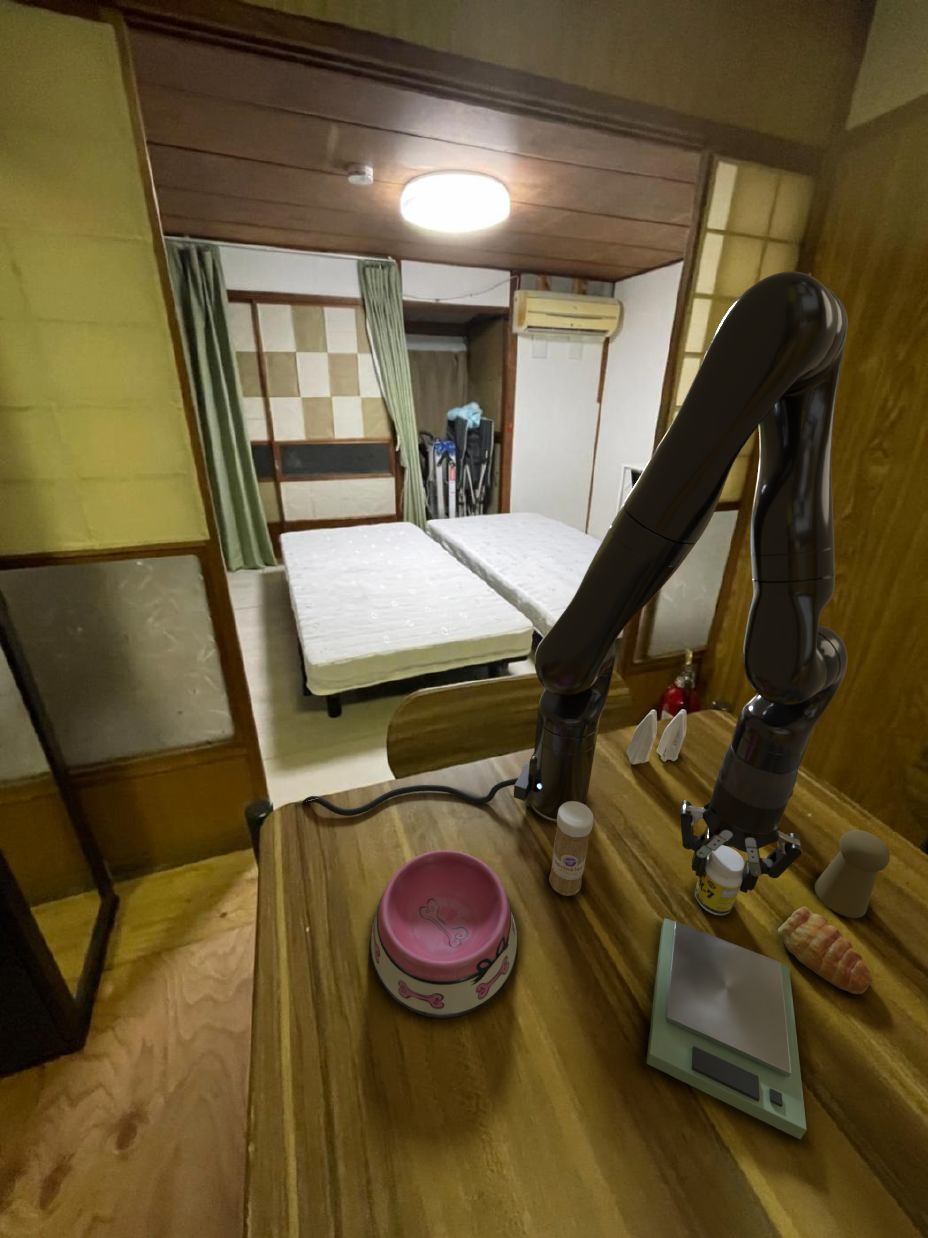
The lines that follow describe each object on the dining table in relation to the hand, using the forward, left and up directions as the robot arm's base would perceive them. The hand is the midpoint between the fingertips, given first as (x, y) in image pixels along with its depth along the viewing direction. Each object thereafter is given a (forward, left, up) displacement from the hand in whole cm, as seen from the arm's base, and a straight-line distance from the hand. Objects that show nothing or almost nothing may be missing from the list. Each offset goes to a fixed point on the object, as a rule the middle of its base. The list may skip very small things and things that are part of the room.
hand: (720, 878), depth 68 cm
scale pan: (+1, -14, -2) cm, 14 cm away
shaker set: (-11, +26, -5) cm, 29 cm away
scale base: (+1, -15, -4) cm, 16 cm away
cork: (+16, +8, -5) cm, 18 cm away
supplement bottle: (0, 0, -5) cm, 5 cm away
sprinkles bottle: (-19, -6, -5) cm, 20 cm away
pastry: (+12, -2, -5) cm, 13 cm away
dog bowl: (-31, -20, -5) cm, 37 cm away
